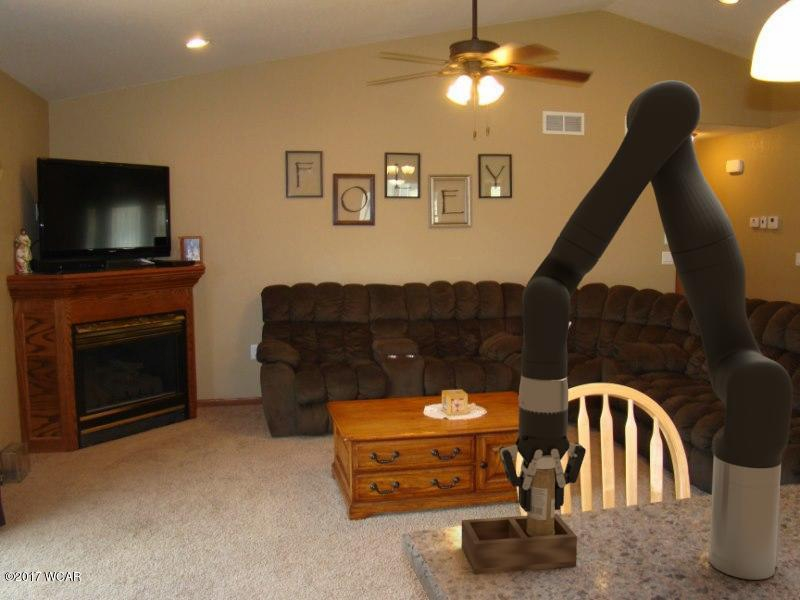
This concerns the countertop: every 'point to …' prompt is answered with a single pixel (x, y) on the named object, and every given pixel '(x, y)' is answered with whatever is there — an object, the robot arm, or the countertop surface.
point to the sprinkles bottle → (542, 499)
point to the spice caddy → (516, 545)
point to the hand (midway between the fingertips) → (541, 508)
